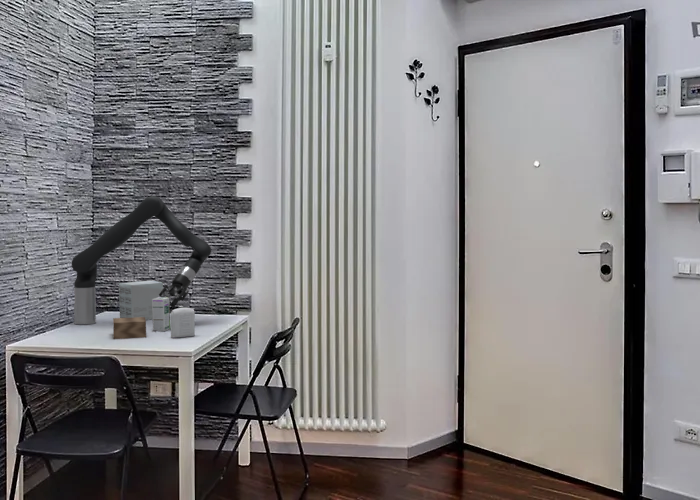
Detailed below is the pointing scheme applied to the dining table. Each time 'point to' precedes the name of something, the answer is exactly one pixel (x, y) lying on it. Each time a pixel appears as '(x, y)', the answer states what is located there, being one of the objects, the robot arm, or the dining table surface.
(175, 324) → the photo printer
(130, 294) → the supplement box
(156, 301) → the syrup box
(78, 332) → the dining table surface
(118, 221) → the robot arm
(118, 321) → the walnut block
